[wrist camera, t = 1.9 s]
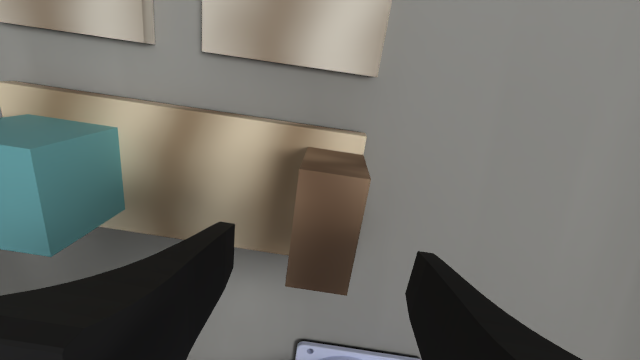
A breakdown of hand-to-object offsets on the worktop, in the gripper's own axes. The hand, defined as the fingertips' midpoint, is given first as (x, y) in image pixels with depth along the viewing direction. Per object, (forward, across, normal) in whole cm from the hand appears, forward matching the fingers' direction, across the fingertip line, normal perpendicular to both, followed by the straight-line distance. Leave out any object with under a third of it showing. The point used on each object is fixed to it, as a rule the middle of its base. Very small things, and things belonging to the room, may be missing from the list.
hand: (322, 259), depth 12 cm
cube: (+6, +14, 0) cm, 16 cm away
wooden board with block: (+7, +8, 0) cm, 11 cm away
